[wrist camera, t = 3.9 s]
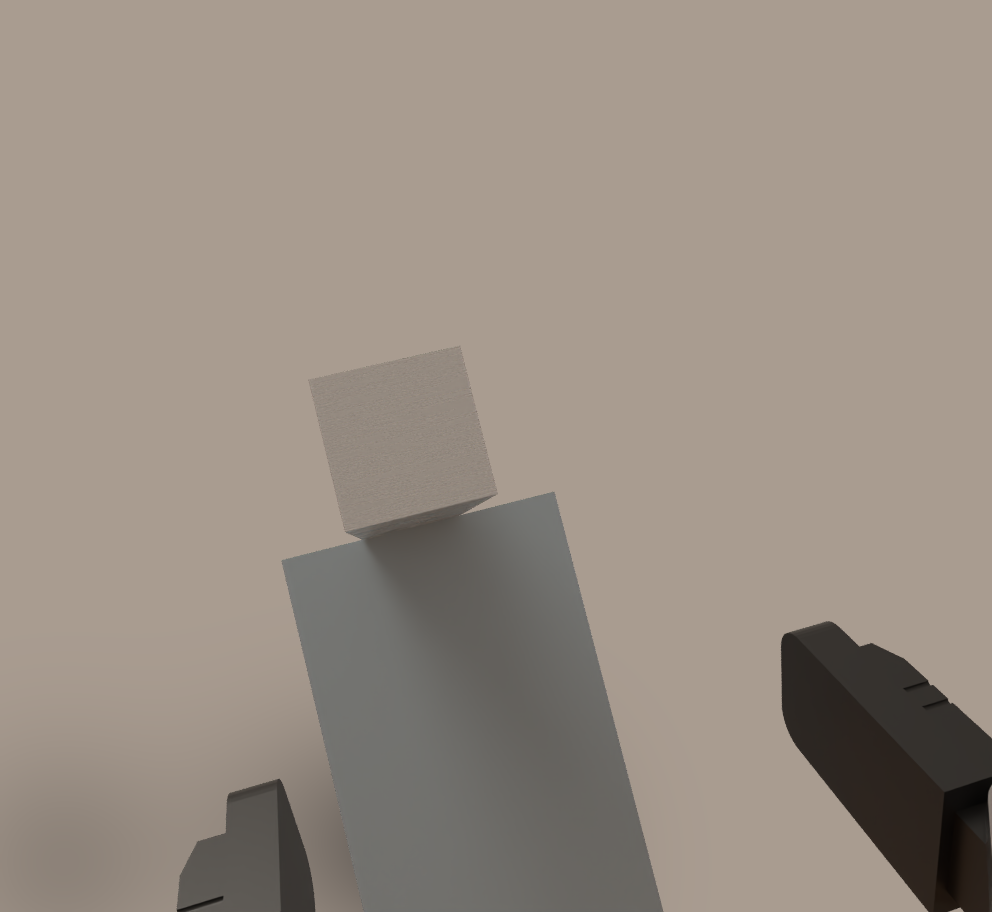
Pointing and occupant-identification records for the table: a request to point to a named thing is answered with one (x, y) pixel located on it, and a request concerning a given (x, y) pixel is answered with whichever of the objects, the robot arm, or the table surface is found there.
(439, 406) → the shaft
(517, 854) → the stand
